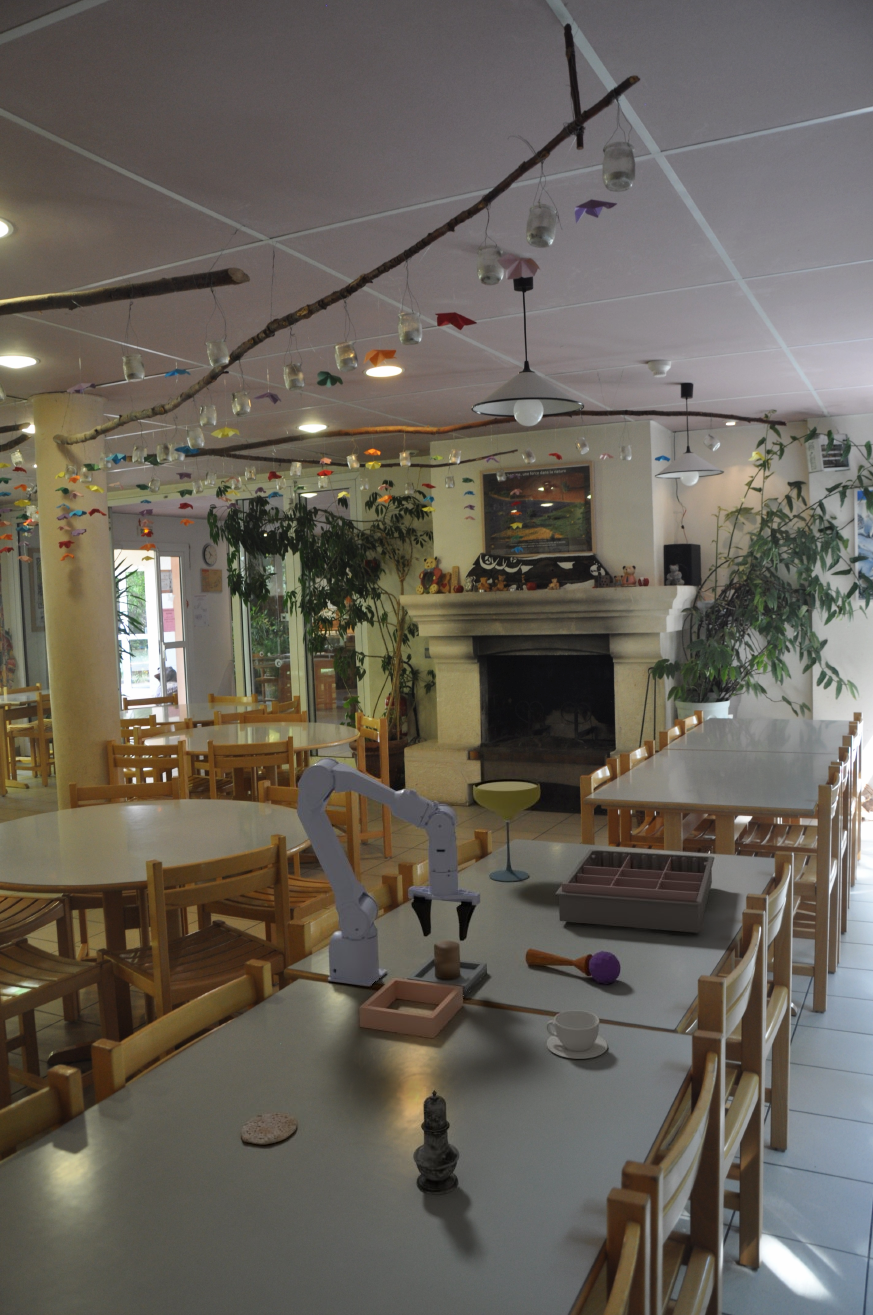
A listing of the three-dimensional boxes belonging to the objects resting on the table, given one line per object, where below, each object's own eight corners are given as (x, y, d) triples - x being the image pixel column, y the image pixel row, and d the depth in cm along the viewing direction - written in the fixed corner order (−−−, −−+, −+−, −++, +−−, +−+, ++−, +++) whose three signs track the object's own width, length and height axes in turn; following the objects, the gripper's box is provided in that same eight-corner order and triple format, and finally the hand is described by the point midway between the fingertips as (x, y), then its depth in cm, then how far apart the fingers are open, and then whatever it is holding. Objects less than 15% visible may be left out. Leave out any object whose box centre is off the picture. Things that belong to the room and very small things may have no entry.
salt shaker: (412, 1170, 123) (409, 1080, 122) (457, 1166, 123) (454, 1077, 123) (415, 1198, 117) (412, 1104, 116) (462, 1194, 117) (459, 1100, 117)
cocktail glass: (461, 877, 256) (459, 785, 255) (507, 863, 269) (504, 776, 267) (511, 890, 243) (508, 794, 242) (556, 875, 255) (554, 783, 254)
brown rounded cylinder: (430, 978, 184) (430, 948, 184) (440, 969, 188) (439, 940, 188) (454, 982, 182) (453, 951, 182) (464, 972, 186) (463, 942, 186)
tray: (407, 988, 182) (407, 978, 182) (431, 966, 193) (431, 956, 193) (465, 996, 177) (465, 986, 177) (486, 973, 188) (486, 963, 188)
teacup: (612, 1038, 159) (611, 1010, 159) (602, 1065, 150) (601, 1036, 149) (553, 1031, 162) (552, 1004, 162) (540, 1057, 153) (539, 1029, 153)
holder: (359, 1027, 166) (359, 1007, 166) (393, 996, 179) (393, 977, 178) (433, 1038, 160) (432, 1018, 160) (462, 1005, 173) (462, 987, 173)
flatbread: (270, 1111, 139) (270, 1104, 139) (308, 1127, 134) (307, 1120, 134) (228, 1137, 132) (228, 1131, 132) (266, 1155, 128) (266, 1148, 128)
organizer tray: (715, 887, 241) (714, 849, 240) (702, 941, 203) (701, 895, 203) (590, 879, 252) (589, 842, 251) (555, 928, 214) (554, 884, 214)
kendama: (537, 940, 195) (625, 951, 183) (537, 970, 195) (625, 983, 182) (522, 943, 191) (611, 955, 178) (521, 974, 190) (611, 988, 178)
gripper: (400, 871, 184) (402, 939, 185) (470, 877, 178) (472, 948, 179) (415, 861, 190) (417, 928, 191) (483, 867, 185) (485, 936, 185)
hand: (445, 937), depth 185 cm, fingers open, 7 cm apart
